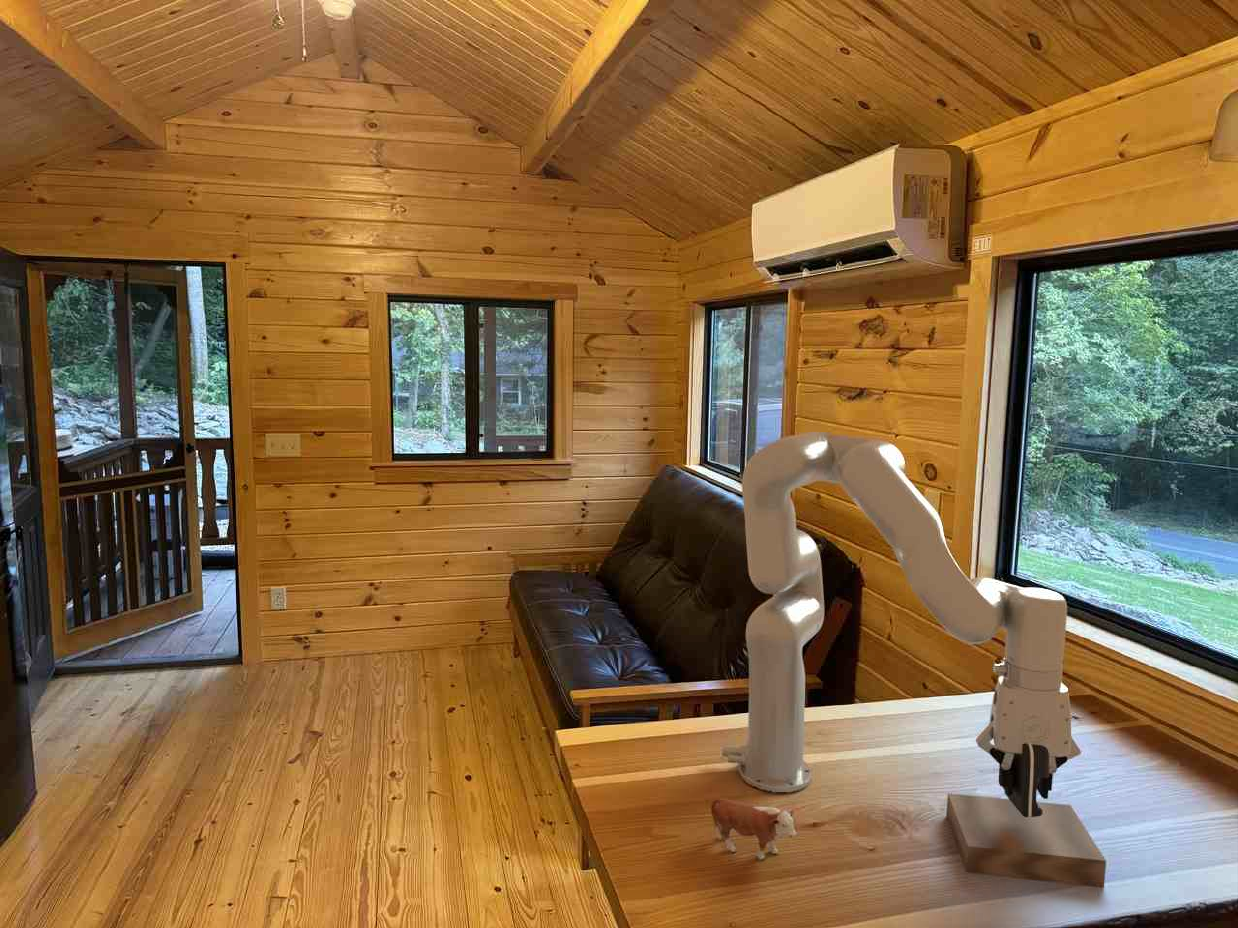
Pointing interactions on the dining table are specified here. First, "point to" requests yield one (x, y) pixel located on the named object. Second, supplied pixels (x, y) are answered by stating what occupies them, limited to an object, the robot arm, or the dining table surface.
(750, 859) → the dining table surface
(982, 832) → the walnut base
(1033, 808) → the battery charger
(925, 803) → the dining table surface
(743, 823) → the bull figurine
